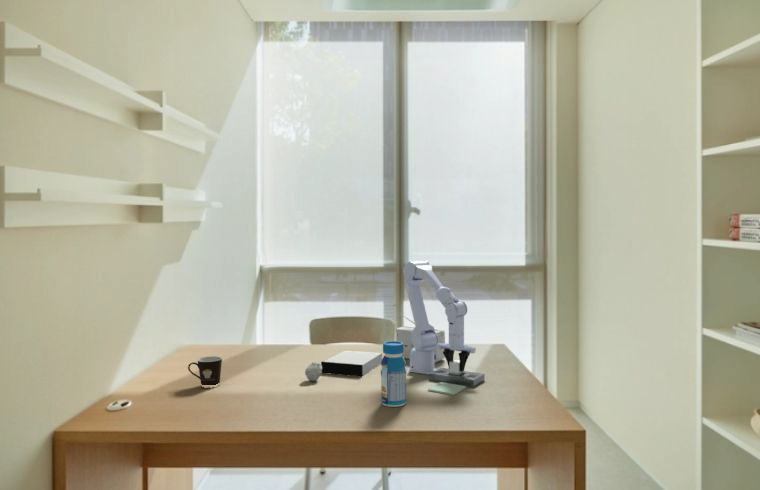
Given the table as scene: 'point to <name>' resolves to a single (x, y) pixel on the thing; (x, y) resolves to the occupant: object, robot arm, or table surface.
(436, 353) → the stereo radio cassette player
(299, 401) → the table surface
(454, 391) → the rubber pad
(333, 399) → the table surface
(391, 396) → the beverage bottle
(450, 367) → the steel peg
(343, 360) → the disc drive
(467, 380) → the plate with square hole
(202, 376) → the coffee mug
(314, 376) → the frog figurine
